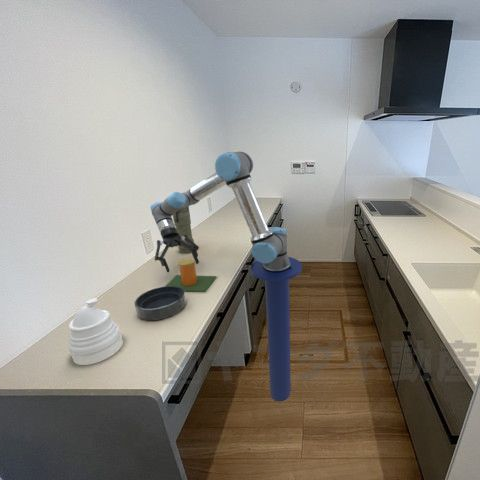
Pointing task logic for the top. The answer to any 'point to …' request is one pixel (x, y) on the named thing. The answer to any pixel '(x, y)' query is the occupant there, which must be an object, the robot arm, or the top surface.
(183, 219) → the green elongated piece
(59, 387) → the top surface
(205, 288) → the mat
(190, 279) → the tea tin
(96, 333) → the honey pot
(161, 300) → the bowl
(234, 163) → the robot arm
